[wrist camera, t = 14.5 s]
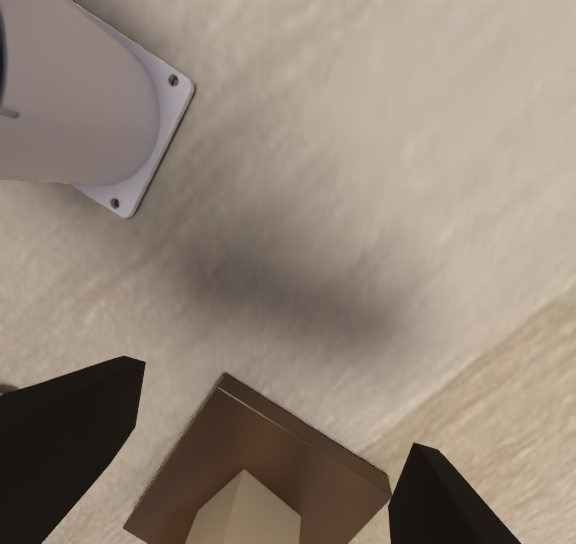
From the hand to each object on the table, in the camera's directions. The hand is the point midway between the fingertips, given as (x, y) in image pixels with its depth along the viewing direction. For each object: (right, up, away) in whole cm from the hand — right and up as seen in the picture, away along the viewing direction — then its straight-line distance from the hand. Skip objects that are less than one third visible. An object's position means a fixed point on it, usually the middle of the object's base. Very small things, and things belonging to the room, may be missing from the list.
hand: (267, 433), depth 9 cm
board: (-2, -10, +13) cm, 17 cm away
